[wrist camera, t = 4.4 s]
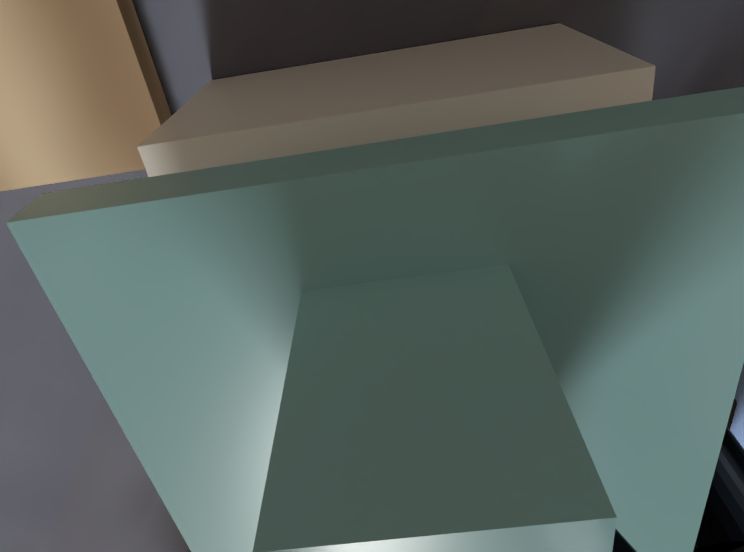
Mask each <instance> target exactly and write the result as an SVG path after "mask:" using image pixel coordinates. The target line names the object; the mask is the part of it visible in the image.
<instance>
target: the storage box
mask: <svg viewBox="0 0 744 552" xmlns="http://www.w3.org/2000/svg"><path fill="white" fill-rule="evenodd" d="M655 69H656V66H655V65H652V64H650V63H648V62H646V61H643V60H641V59H639V58H637V57H634V56H632V55H630V54H628V53H625V52H623V51H621V50H619V49H616V48H614V47H612V46H610V45H608V44H605V43H603V42H601V41H599V40H596V39H594V38H592V37H590V36H587V35H585V34H583V33H581V32H578V31H576V30H574V29H572V28H569V27H567V26H565V25H563V24H560V23H557V24H551V25H545V26H539V27H533V28H527V29H521V30H515V31H509V32H503V33H496V34H490V35H484V36H478V37H472V38H466V39H460V40H454V41H448V42H441V43H435V44H429V45H423V46H417V47H411V48H405V49H399V50H393V51H387V52H380V53H374V54H368V55H362V56H356V57H350V58H344V59H338V60H332V61H326V62H319V63H313V64H307V65H301V66H295V67H289V68H283V69H277V70H271V71H264V72H258V73H252V74H246V75H240V76H234V77H228V78H222V79H216V80H211V81H210V82H209V83H208V84H207V85H206V86H204V87H203V88H202V89H201V90H200V91H199V92H198V93H197V94H196V95H194V96H193V97H192V98H191V99H190V100H189V101H188V102H187V103H185V104H184V105H183V106H182V107H181V108H180V109H179V110H178V111H177V112H175V113H174V114H173V115H172V116H171V117H170V118H169V119H168V120H166V121H165V122H164V123H163V124H162V125H161V126H160V127H159V128H158V129H156V130H155V131H154V132H153V133H152V134H151V135H150V136H149V137H147V138H146V139H145V140H144V141H143V142H142V143H141V144H140V145H139V146H137V148H138V151H139V153H140V156H141V158H142V161H143V164H144V166H145V169H146V171H147V174H148V176H149V177H153V176H160V175H166V174H173V173H179V172H186V171H192V170H199V169H206V168H212V167H219V166H225V165H232V164H238V163H245V162H252V161H258V160H265V159H271V158H278V157H284V156H291V155H297V154H304V153H311V152H317V151H324V150H330V149H337V148H343V147H350V146H357V145H363V144H370V143H376V142H383V141H389V140H396V139H402V138H409V137H416V136H422V135H429V134H435V133H442V132H448V131H455V130H462V129H468V128H475V127H481V126H488V125H494V124H501V123H507V122H514V121H521V120H527V119H534V118H540V117H547V116H553V115H560V114H566V113H573V112H580V111H586V110H593V109H599V108H606V107H612V106H619V105H626V104H632V103H639V102H645V101H652V95H653V86H654V77H655Z"/></svg>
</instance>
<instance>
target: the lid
mask: <svg viewBox="0 0 744 552" xmlns="http://www.w3.org/2000/svg"><path fill="white" fill-rule="evenodd" d="M6 224H7V226H8V228H9V229H10V231H11V233H12V235H13V236H14V238H15V240H16V242H17V243H18V245H19V247H20V249H21V251H22V252H23V254H24V256H25V258H26V259H27V261H28V263H29V265H30V267H31V268H32V270H33V272H34V274H35V275H36V277H37V279H38V281H39V282H40V284H41V286H42V288H43V290H44V291H45V293H46V295H47V297H48V298H49V300H50V302H51V304H52V306H53V307H54V309H55V311H56V313H57V314H58V316H59V318H60V320H61V322H62V323H63V325H64V327H65V329H66V330H67V332H68V334H69V336H70V337H71V339H72V341H73V343H74V345H75V346H76V348H77V350H78V352H79V353H80V355H81V357H82V359H83V361H84V362H85V364H86V366H87V368H88V369H89V371H90V373H91V375H92V377H93V378H94V380H95V382H96V384H97V385H98V387H99V389H100V391H101V392H102V394H103V396H104V398H105V400H106V401H107V403H108V405H109V407H110V408H111V410H112V412H113V414H114V416H115V417H116V419H117V421H118V423H119V424H120V426H121V428H122V430H123V432H124V433H125V435H126V437H127V439H128V440H129V442H130V444H131V446H132V447H133V449H134V451H135V453H136V455H137V456H138V458H139V460H140V462H141V463H142V465H143V467H144V469H145V471H146V472H147V474H148V476H149V478H150V479H151V481H152V483H153V485H154V486H155V488H156V490H157V492H158V494H159V495H160V497H161V499H162V501H163V502H164V504H165V506H166V508H167V510H168V511H169V513H170V515H171V517H172V518H173V520H174V522H175V524H176V526H177V527H178V529H179V531H180V533H181V534H182V536H183V538H184V540H185V541H186V543H187V545H188V547H189V549H190V550H191V552H612V551H613V543H614V536H615V528H616V529H617V530H618V531H619V533H620V534H621V535H622V536H623V537H624V538H625V539H626V540H627V541H628V543H629V544H630V545H631V546H632V547H633V548H634V549H635V550H636V551H637V552H693V550H694V546H695V543H696V539H697V535H698V531H699V528H700V524H701V520H702V516H703V513H704V509H705V505H706V502H707V498H708V494H709V490H710V487H711V483H712V479H713V475H714V472H715V468H716V464H717V461H718V457H719V453H720V449H721V446H722V442H723V438H724V434H725V431H726V427H727V423H728V419H729V416H730V412H731V408H732V405H733V401H734V397H735V393H736V390H737V386H738V382H739V378H740V375H741V371H742V367H743V364H744V87H737V88H731V89H724V90H717V91H711V92H704V93H698V94H691V95H685V96H678V97H671V98H665V99H658V100H652V101H645V102H639V103H632V104H626V105H619V106H612V107H606V108H599V109H593V110H586V111H580V112H573V113H566V114H560V115H553V116H547V117H540V118H534V119H527V120H521V121H514V122H507V123H501V124H494V125H488V126H481V127H475V128H468V129H462V130H455V131H448V132H442V133H435V134H429V135H422V136H416V137H409V138H402V139H396V140H389V141H383V142H376V143H370V144H363V145H357V146H350V147H343V148H337V149H330V150H324V151H317V152H311V153H304V154H297V155H291V156H284V157H278V158H271V159H265V160H258V161H252V162H245V163H238V164H232V165H225V166H219V167H212V168H206V169H199V170H192V171H186V172H179V173H173V174H166V175H160V176H153V177H147V178H140V179H133V180H127V181H120V182H114V183H107V184H101V185H94V186H88V187H81V188H74V189H68V190H61V191H55V192H48V193H43V194H42V195H40V196H39V197H38V198H37V199H35V200H34V201H33V202H32V203H30V204H29V205H28V206H26V207H25V208H24V209H23V210H21V211H20V212H19V213H18V214H16V215H15V216H14V217H13V218H11V219H10V220H9V221H7V222H6Z"/></svg>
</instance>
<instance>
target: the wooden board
mask: <svg viewBox="0 0 744 552" xmlns="http://www.w3.org/2000/svg"><path fill="white" fill-rule="evenodd" d="M171 116H172V115H171V112H170V109H169V106H168V104H167V101H166V98H165V95H164V92H163V89H162V86H161V83H160V80H159V77H158V75H157V72H156V69H155V66H154V63H153V60H152V57H151V54H150V51H149V48H148V45H147V43H146V40H145V37H144V34H143V31H142V28H141V25H140V22H139V19H138V16H137V14H136V11H135V8H134V5H133V2H132V0H0V191H6V190H12V189H19V188H25V187H32V186H38V185H45V184H52V183H58V182H65V181H71V180H78V179H84V178H91V177H98V176H104V175H111V174H117V173H124V172H130V171H137V170H143V169H145V166H144V164H143V161H142V158H141V156H140V153H139V151H138V148H137V146H139V145H140V144H141V143H142V142H143V141H144V140H145V139H146V138H147V137H149V136H150V135H151V134H152V133H153V132H154V131H155V130H156V129H158V128H159V127H160V126H161V125H162V124H163V123H164V122H165V121H166V120H168V119H169V118H170V117H171Z"/></svg>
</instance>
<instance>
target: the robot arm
mask: <svg viewBox="0 0 744 552" xmlns="http://www.w3.org/2000/svg"><path fill="white" fill-rule="evenodd" d="M736 405H737V401H736V400H735V399H734V401H733V405H732V408H731V412H730V416H729V419H728V423H727V427H726V431H725V434H724V438H723V442H722V446H721V449H720V453H719V457H718V461H717V464H716V468H715V472H714V475H713V479H712V483H711V487H710V490H709V494H708V498H707V502H706V505H705V509H704V513H703V516H702V520H701V524H700V528H699V531H698V535H697V539H696V543H695V546H694V550H693V552H744V449H743V447H742V446H741V445H740V443H739V442H738V440H737V439H736V438H735V436H734V435H733V434H732V432H731V431H730V427H731V423H732V420H733V416H734V412H735V408H736ZM612 552H637V551H636V550H635V549H634V548H633V547H632V546H631V545H630V544H629V543H628V541H627V540H626V539H625V538H624V537H623V536H622V535H621V534H620V533H619V531H618V530H617V529H616V528H615V536H614V543H613V551H612Z"/></svg>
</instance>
